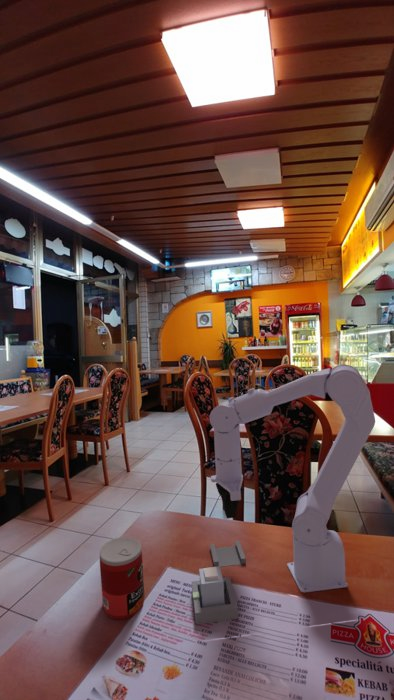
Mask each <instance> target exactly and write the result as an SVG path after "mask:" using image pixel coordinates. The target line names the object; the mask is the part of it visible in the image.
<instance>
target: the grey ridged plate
mask: <svg viewBox="0 0 394 700" xmlns="http://www.w3.org/2000/svg"><path fill="white" fill-rule="evenodd" d="M234 542H235V543H234V545H232V546H231V545H230V546H221V547H216V545H215V543H213V542H212V543H209V549H210V555H211V558H212V563H213V567H218V566H220V568H222V567H230V566H231V567H232V566H238V565H246V564H247V560H246V559H247V558H246V556H245V552H244V550H243V546H242V545H241V541H240V540H235V541H234Z"/></svg>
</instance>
